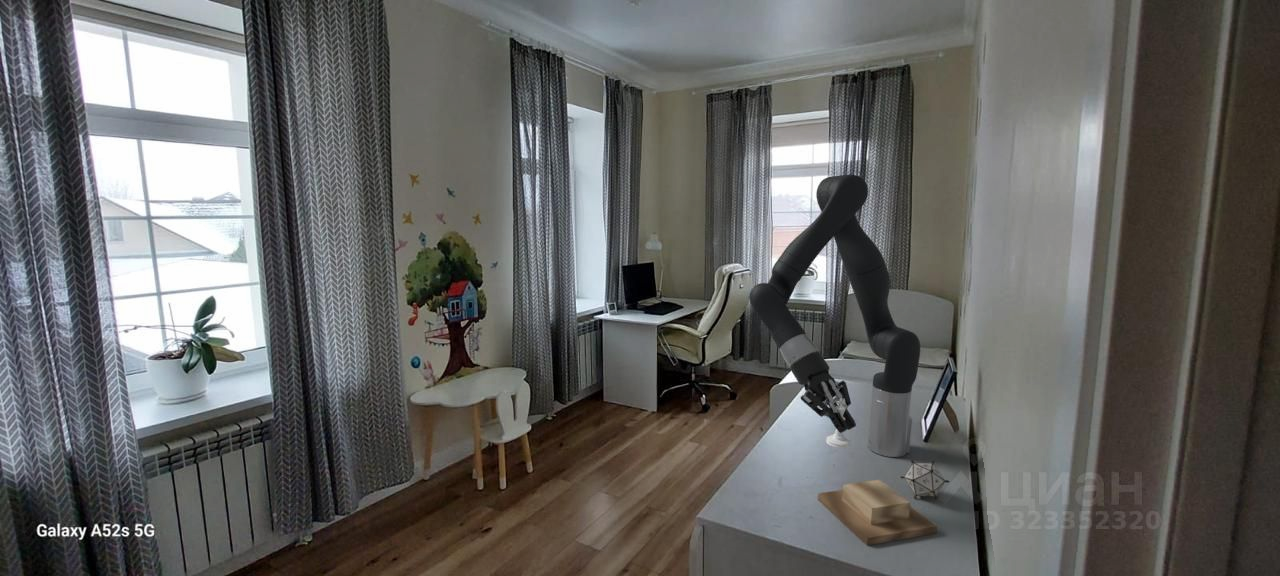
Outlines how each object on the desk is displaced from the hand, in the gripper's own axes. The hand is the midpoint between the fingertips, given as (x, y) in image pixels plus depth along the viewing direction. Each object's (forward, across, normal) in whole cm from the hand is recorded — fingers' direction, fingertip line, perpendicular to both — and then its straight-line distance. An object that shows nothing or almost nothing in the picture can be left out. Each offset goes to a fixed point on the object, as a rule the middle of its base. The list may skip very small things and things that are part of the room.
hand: (848, 429), depth 108 cm
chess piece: (+1, 0, +4) cm, 5 cm away
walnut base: (+16, +2, +8) cm, 19 cm away
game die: (+18, +18, +8) cm, 27 cm away
